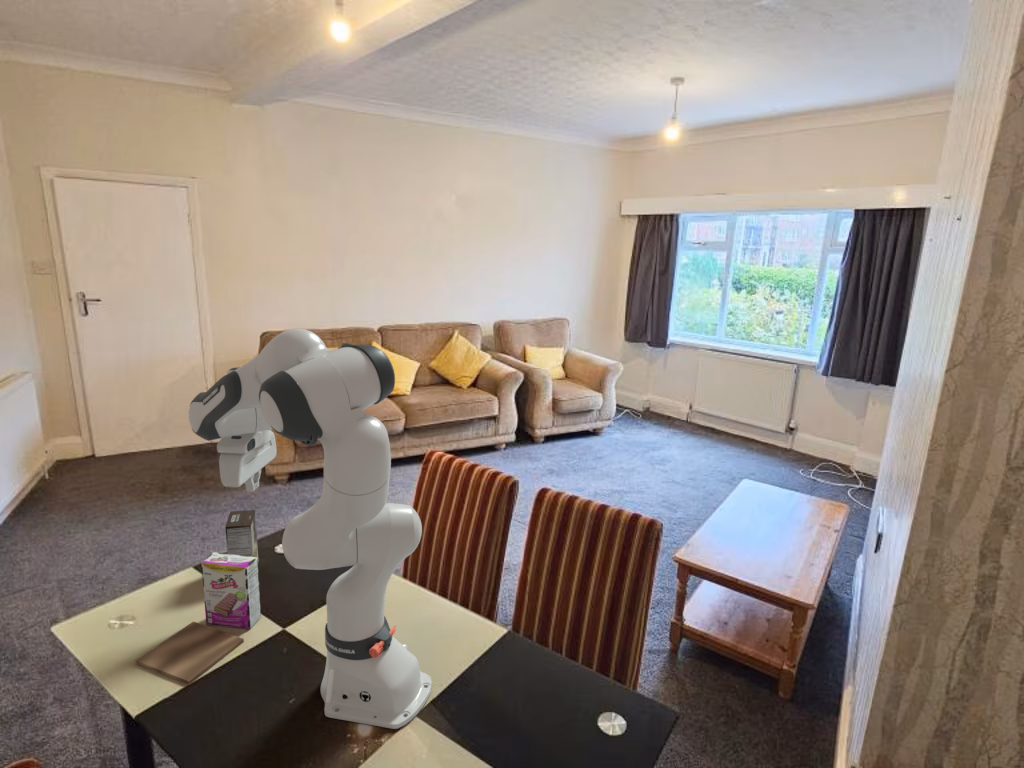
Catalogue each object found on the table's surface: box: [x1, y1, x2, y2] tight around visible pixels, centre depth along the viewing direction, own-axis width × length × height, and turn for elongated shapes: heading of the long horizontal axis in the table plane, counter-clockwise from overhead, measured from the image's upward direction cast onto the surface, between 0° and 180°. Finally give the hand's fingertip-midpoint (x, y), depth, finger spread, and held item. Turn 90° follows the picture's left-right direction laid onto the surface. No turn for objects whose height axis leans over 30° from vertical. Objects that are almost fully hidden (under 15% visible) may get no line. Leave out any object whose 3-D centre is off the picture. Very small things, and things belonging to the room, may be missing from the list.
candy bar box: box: [200, 551, 262, 630], centre depth 131 cm, size 11×5×16 cm, turn 84°
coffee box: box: [224, 509, 259, 560], centre depth 151 cm, size 9×6×16 cm
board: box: [135, 621, 244, 686], centre depth 122 cm, size 15×14×1 cm
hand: (252, 489), depth 133 cm, fingers closed
